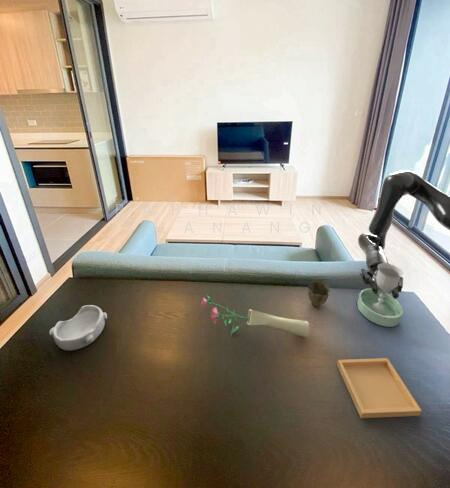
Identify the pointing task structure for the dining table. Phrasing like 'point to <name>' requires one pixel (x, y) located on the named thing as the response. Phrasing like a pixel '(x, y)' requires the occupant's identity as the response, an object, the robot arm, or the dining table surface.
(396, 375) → the tray
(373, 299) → the bowl
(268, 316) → the flower vase
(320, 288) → the cup
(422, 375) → the dining table surface
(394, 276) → the chalice
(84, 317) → the dish
